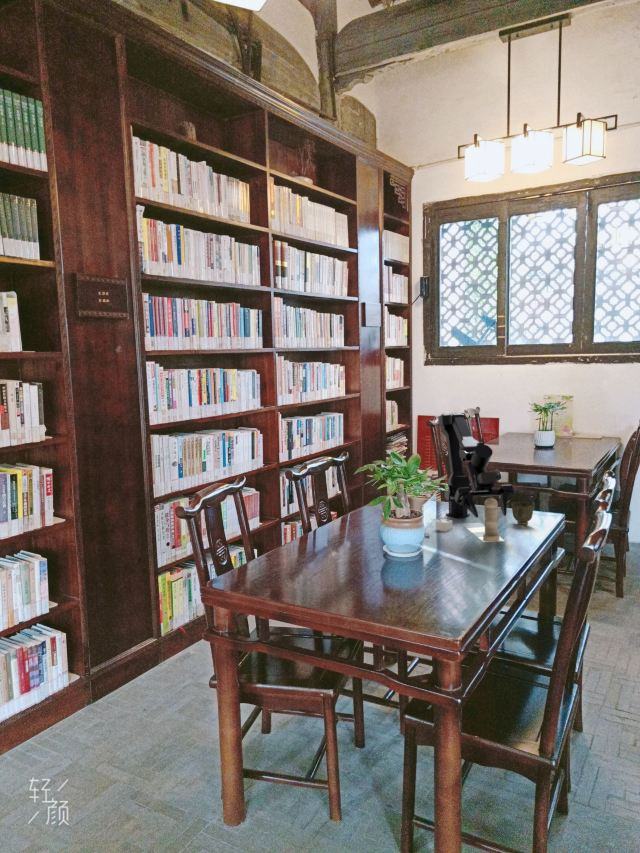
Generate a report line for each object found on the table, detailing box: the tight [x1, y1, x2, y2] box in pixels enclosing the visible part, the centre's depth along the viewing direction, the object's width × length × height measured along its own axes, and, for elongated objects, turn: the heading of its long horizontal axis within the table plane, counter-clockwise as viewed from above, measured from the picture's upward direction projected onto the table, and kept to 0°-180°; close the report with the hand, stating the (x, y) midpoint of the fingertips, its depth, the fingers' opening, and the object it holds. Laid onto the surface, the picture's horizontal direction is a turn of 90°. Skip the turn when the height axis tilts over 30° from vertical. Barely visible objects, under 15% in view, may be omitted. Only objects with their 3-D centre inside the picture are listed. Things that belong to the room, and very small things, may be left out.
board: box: [461, 522, 506, 543], centre depth 203 cm, size 22×7×1 cm, turn 5°
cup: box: [511, 500, 535, 527], centre depth 212 cm, size 8×7×8 cm
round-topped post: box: [483, 497, 500, 542], centre depth 194 cm, size 5×5×14 cm
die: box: [435, 518, 453, 532], centre depth 208 cm, size 4×4×4 cm
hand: (491, 516), depth 194 cm, fingers open, 9 cm apart
